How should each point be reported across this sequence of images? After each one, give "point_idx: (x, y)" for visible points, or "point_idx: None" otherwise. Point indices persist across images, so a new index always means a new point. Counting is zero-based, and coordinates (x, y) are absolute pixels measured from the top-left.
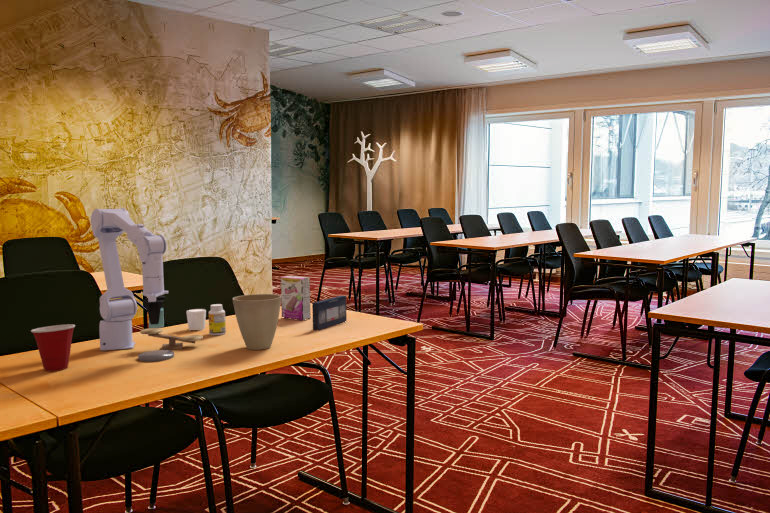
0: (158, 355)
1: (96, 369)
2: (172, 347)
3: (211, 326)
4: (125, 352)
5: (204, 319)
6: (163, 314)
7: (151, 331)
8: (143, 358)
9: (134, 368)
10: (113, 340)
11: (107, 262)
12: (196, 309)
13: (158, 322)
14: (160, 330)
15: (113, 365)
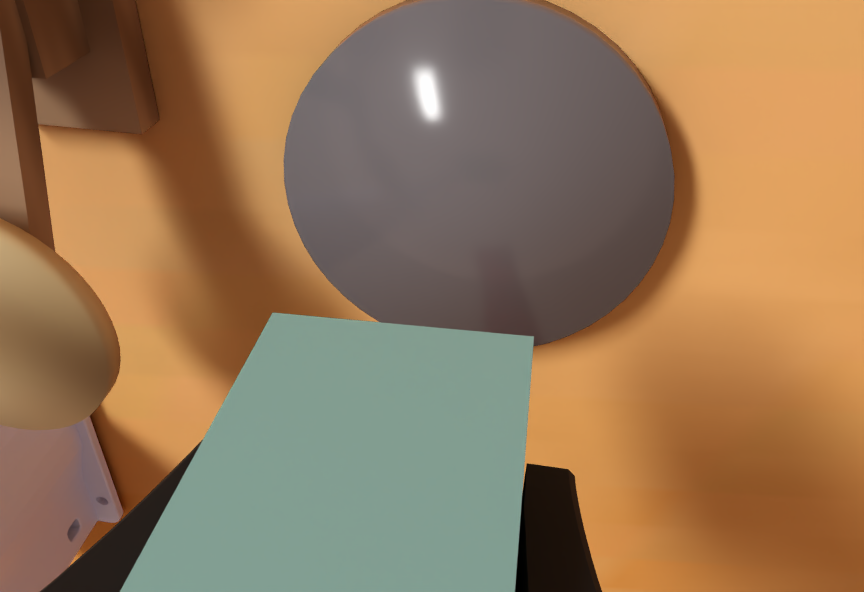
0: (554, 184)
1: (679, 561)
2: (123, 9)
3: None
4: (187, 393)
5: None
6: (211, 472)
7: (61, 339)
8: (601, 315)
9: (840, 372)
10: (47, 508)
11: None
12: None
13: (571, 489)
14: (1, 242)
15: (615, 481)
